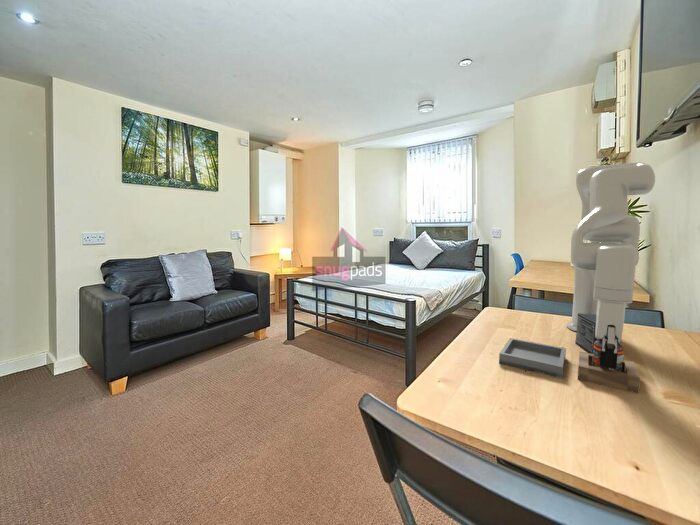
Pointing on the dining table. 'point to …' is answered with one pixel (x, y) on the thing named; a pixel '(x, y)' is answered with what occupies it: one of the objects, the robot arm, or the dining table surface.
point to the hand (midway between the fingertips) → (606, 361)
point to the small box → (586, 331)
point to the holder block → (609, 374)
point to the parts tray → (533, 357)
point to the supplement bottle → (596, 355)
